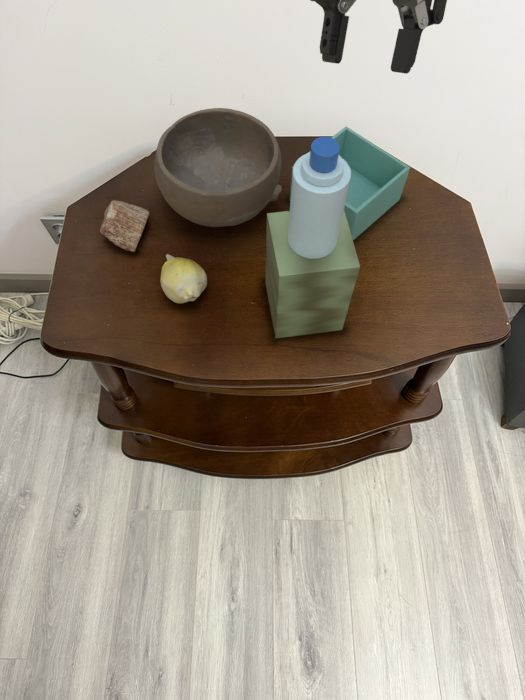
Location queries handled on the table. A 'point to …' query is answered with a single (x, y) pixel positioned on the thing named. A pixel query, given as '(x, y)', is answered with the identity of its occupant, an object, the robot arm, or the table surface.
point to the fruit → (182, 279)
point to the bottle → (318, 199)
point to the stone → (124, 224)
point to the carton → (368, 180)
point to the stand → (308, 282)
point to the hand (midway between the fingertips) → (366, 67)
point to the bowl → (218, 167)
